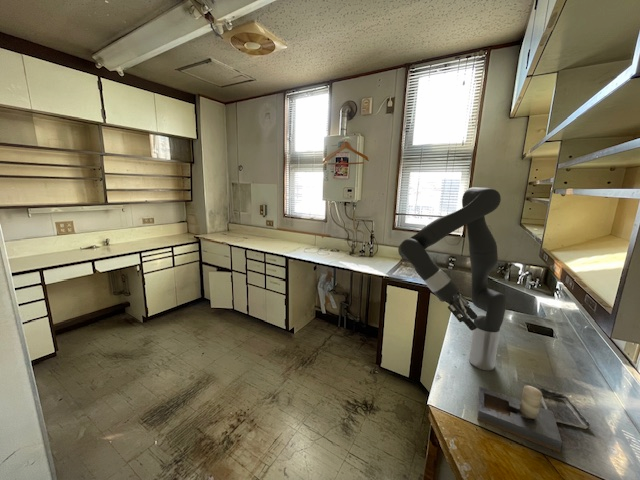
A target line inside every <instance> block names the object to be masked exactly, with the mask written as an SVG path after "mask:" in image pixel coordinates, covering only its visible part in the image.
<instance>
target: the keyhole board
mask: <svg viewBox="0 0 640 480" xmlns="http://www.w3.org/2000/svg"><path fill="white" fill-rule="evenodd" d="M520 405H521V400H520V399H517V398H515V397H511V396H508V395H506V394H502V393H499V392H497V391H495V390H490V389H488V388H485V387H482V386H478V392H477V413H476V415H477V416H476V417H477V421H479V422H481V423H484V424H487V425H489V426H492V427H495V428H497V429H499V430H502V431H504V432H507V433H510V434H511V435H515V436H518V437H519V438H522V439H525V440H527V441H529V442H532V443H535V444H536V445H540V446H542V447H545V448H547V449H550V450H552V451H555V452H557V453H561V450H562V445H563V440H562V438H561V434H560V432H559V428H558V425H557V422H556V421H555V419H556V418H555V414H554V411H552V410H550V409H548V410H547V409H545V408H543V407H541V406H540V408H539V413H538V417H537V418H536V419H532V420H531V419H528V418H526V417H523V416H520V415H517V413H518V412H521V411H520ZM521 413H522V412H521Z"/></svg>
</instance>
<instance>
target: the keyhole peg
mask: <svg viewBox="0 0 640 480" xmlns="http://www.w3.org/2000/svg"><path fill="white" fill-rule="evenodd" d="M542 396H543V395H542V393H541V391H539V390H538V388H536V387H534V386H531V385H524V386H523V390H522V396H521V398H520V399H521V405H520V411H521V412H522V413H521V412H518V413H517V415H520V416H523V417H526V418H528V419H531V420H532V419H536V418H537V417H538V413H539V408H540V407H541V404H542V402H541V399H542Z"/></svg>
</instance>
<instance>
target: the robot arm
mask: <svg viewBox="0 0 640 480" xmlns="http://www.w3.org/2000/svg"><path fill="white" fill-rule="evenodd" d="M501 201H502V198H501V194H500V192H499V191H498V190H496V189H494V188H492V187H491V188H490V187H469V188H467V189H466V190H465V191H464V193H463V194H462V199H461V204H462V207H461V208H460V209H458V210H455V211H454V212H451V213H449V214H446V215H444V216H440V217H439V218H436V219H435V220H433V221H431V222H430V223H429V224H427V225H425V226H424V227H423V228H421V229H420V230H419V231H418V232H417V233H416V234H414V235H412V236H411V237H409V238H406V239H404V240H403V241H402V242H401V243H399V246H398V250H397V251H398V255H399V256H400V257H401V258H403V259H405V260H408V261H409V262H410V263H411V265H412V266H413V267H414V271H415V272H416V273H417V274H418V276H419V277H420V278H421V279H422V280H423V282H424V283H425V284H426V286H427V287H428V289H429V290H430V291H431V292H432V293H433V294H434V295H435V296H436V298H437V299H438V300H439V301H440V302H441V303H442V302H448V306H447V308H448V310H449V311H450V312H451V313H452V315H453V316H454V317H455V318H456V320H458V322H459V323H464V324H465V326H467V328H468V329H469V330H470V331H472V334H471V341H470V350H469V359H468V361H469V362H470V363H469V364H471V365H472V366H474V367H475V368H477V369H480V370H483V371H493V370H494V369H495V366H496V360H497V354H498V346H499V339H500V338H499V337H500V332H501V331H500V330H501V326H502V325H503V323H504V322H503V321H504V318H505V313H506V308H507V298H506V295H505V294H504V293H501V292H500V291H496V290H494V289H491V288H489V285H488V278H489V275H490V273H491V272H492V271H493V270H494V269H495V267H496V265H497V263H498V258H499V255H498V246H497V245H498V244H497V242H496V239H495V237H494V235H493V234H492V232H491V230H490V229H489V226H488V225H487V222H486V218H485V216H486V215H488V214H490V213H492V212H494V211H496V209H498V207H499V206H500V203H501ZM464 226H466V231H467V239H468V240H467V241H468V251H469V261H470V268H471V295H470V296H471V301H472V304H473V305H474V306H475V307H476V308H478V309H480V310H482V311H483V312H486V313H485V315H478V314H477V313H476V312H475V310H473V309H472V308H471V305H470V302H469V301H468V300H467V299H466V298H465V297H464V296H463V294H461V293H460V291H459V290H460V288H459V287H458V285H456V284H455V282H453V280H452V279H451V278H450V277H449V276H448V275H447V273H445V272H444V271H443V270H442V269H441V268H440V267H439V266H438V264H436V263H435V261H434V260H433V259H432V258H431V257H430V255H429V253H428V252H427V251H426V250H427V249H428V248H429V247H432V246H434V245H436V243H438V242H440V241H441V240H443V239H444V238H446V237H447V236H449V235H450V234H451V233H453V232H455V231H456V230H458V229H460V228H462V227H464Z"/></svg>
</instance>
